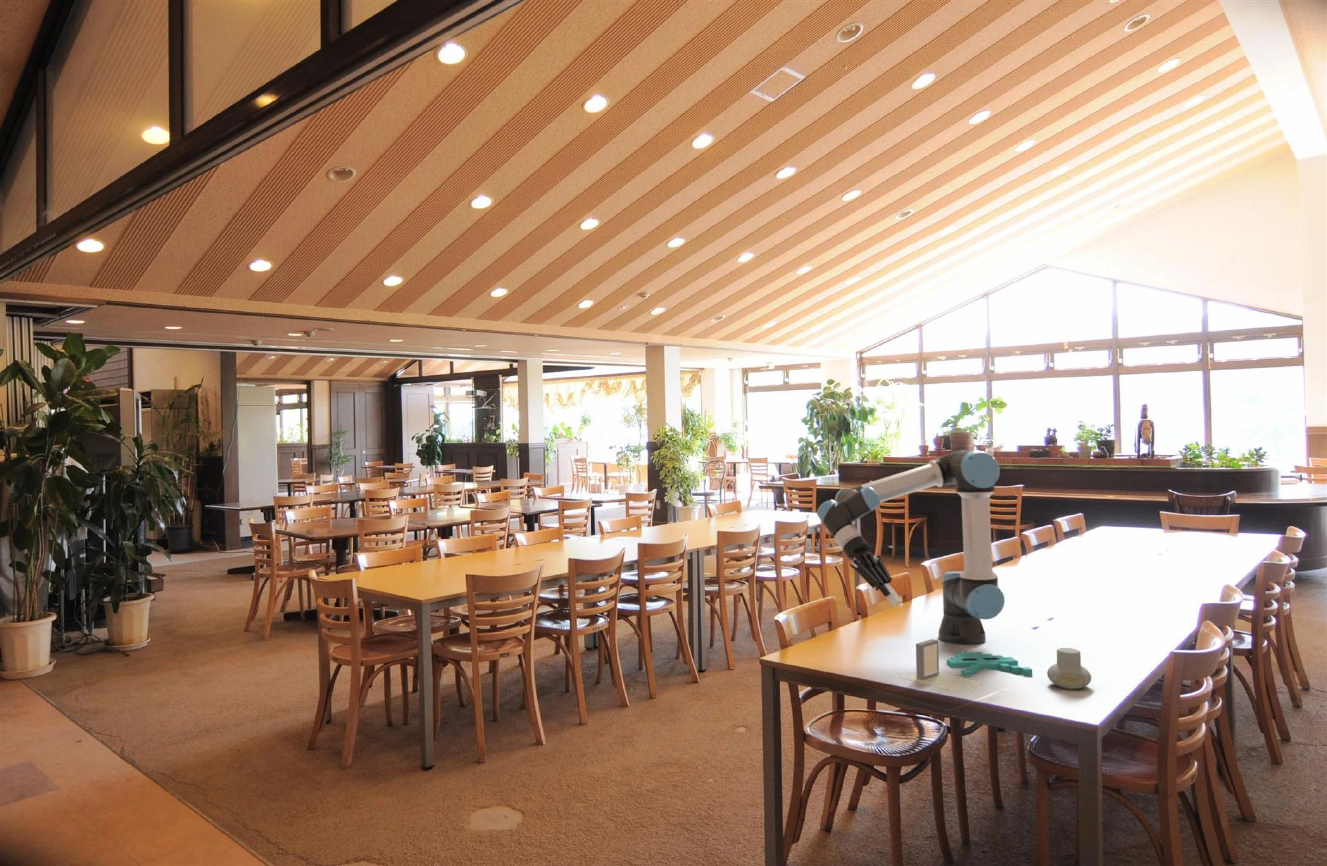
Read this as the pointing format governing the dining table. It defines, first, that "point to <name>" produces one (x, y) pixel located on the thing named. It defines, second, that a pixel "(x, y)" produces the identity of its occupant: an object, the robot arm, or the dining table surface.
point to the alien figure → (986, 663)
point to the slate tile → (927, 659)
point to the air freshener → (1069, 670)
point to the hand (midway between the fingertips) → (897, 603)
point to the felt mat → (945, 681)
